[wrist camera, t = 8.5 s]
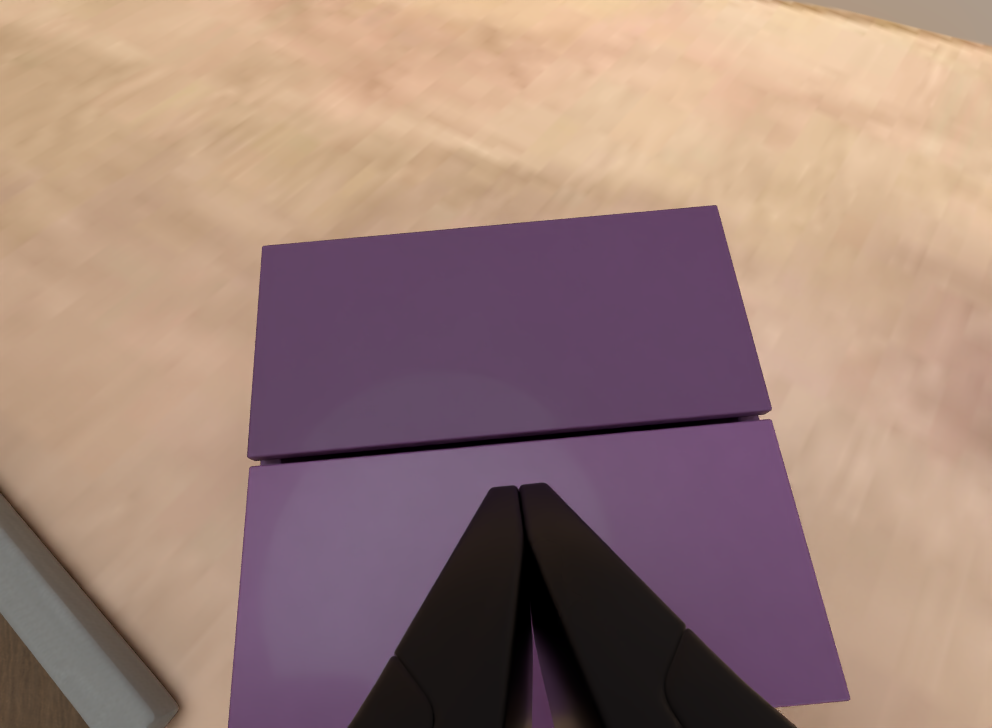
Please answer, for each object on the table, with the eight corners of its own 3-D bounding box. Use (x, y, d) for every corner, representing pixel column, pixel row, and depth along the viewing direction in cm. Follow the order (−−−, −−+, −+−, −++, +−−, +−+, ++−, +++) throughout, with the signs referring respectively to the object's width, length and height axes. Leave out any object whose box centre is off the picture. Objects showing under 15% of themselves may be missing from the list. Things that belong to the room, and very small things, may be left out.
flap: (840, 697, 11) (852, 700, 10) (234, 753, 11) (223, 759, 10) (764, 423, 13) (771, 418, 12) (256, 469, 13) (248, 466, 12)
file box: (703, 649, 18) (856, 705, 10) (351, 682, 18) (220, 764, 10) (643, 340, 22) (718, 201, 14) (353, 367, 22) (259, 242, 14)
